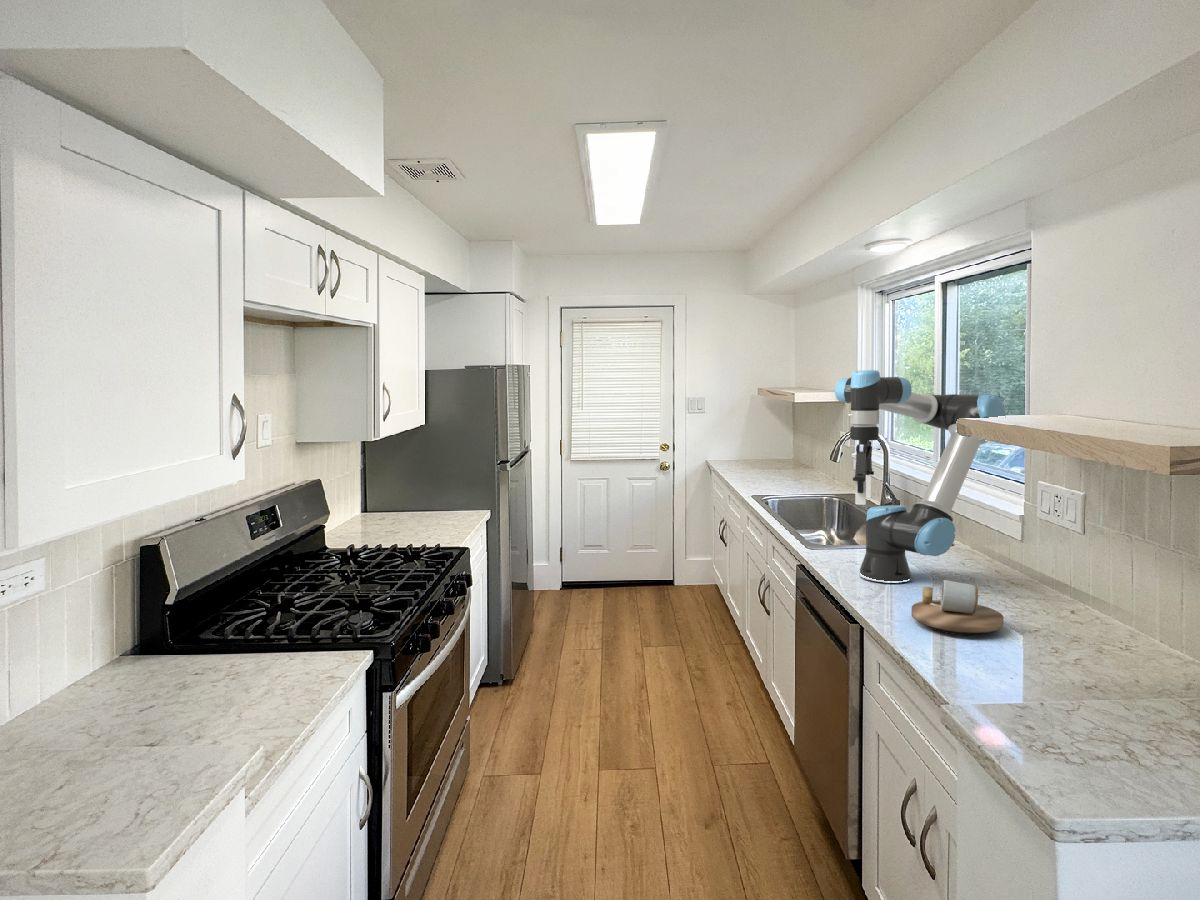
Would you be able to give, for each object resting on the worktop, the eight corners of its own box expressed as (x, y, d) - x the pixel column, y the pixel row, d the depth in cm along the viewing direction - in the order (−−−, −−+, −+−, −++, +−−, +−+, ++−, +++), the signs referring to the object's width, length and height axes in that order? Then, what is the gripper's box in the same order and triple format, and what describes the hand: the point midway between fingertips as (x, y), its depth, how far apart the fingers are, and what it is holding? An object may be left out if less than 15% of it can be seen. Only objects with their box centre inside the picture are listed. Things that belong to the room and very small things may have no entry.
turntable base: (927, 614, 198) (927, 609, 198) (986, 621, 192) (986, 615, 191) (924, 630, 185) (924, 624, 185) (987, 638, 179) (987, 632, 179)
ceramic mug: (977, 618, 183) (979, 587, 182) (941, 613, 186) (943, 583, 185) (973, 605, 193) (975, 577, 192) (939, 602, 196) (940, 573, 195)
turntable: (1022, 624, 183) (1023, 601, 183) (962, 637, 174) (963, 613, 174) (950, 602, 202) (951, 581, 202) (893, 613, 193) (893, 591, 193)
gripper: (855, 423, 220) (854, 493, 222) (844, 428, 198) (843, 506, 200) (882, 423, 217) (881, 495, 219) (874, 428, 195) (872, 508, 196)
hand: (863, 500), depth 209 cm, fingers open, 13 cm apart
